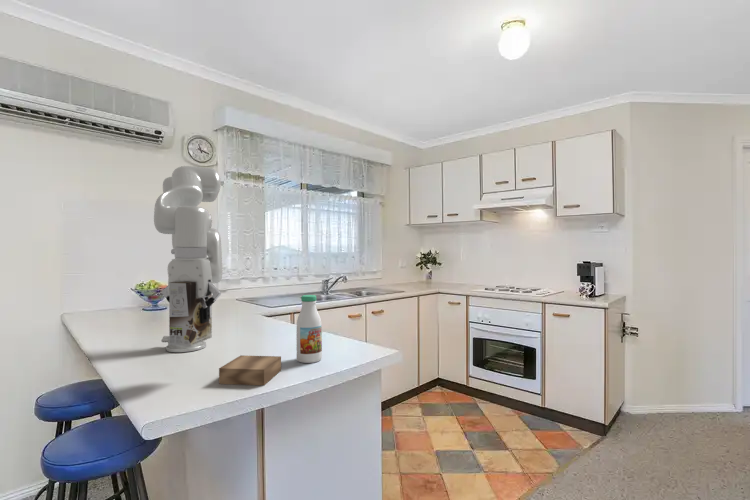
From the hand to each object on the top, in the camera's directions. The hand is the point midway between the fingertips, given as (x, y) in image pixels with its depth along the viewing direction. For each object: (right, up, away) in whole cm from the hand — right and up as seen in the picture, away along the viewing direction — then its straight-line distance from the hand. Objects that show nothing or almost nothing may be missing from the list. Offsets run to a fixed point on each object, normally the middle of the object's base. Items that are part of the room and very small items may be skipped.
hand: (191, 321), depth 102 cm
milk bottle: (+28, -16, +18) cm, 37 cm away
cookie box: (0, -5, 0) cm, 5 cm away
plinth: (+15, -15, +3) cm, 22 cm away
